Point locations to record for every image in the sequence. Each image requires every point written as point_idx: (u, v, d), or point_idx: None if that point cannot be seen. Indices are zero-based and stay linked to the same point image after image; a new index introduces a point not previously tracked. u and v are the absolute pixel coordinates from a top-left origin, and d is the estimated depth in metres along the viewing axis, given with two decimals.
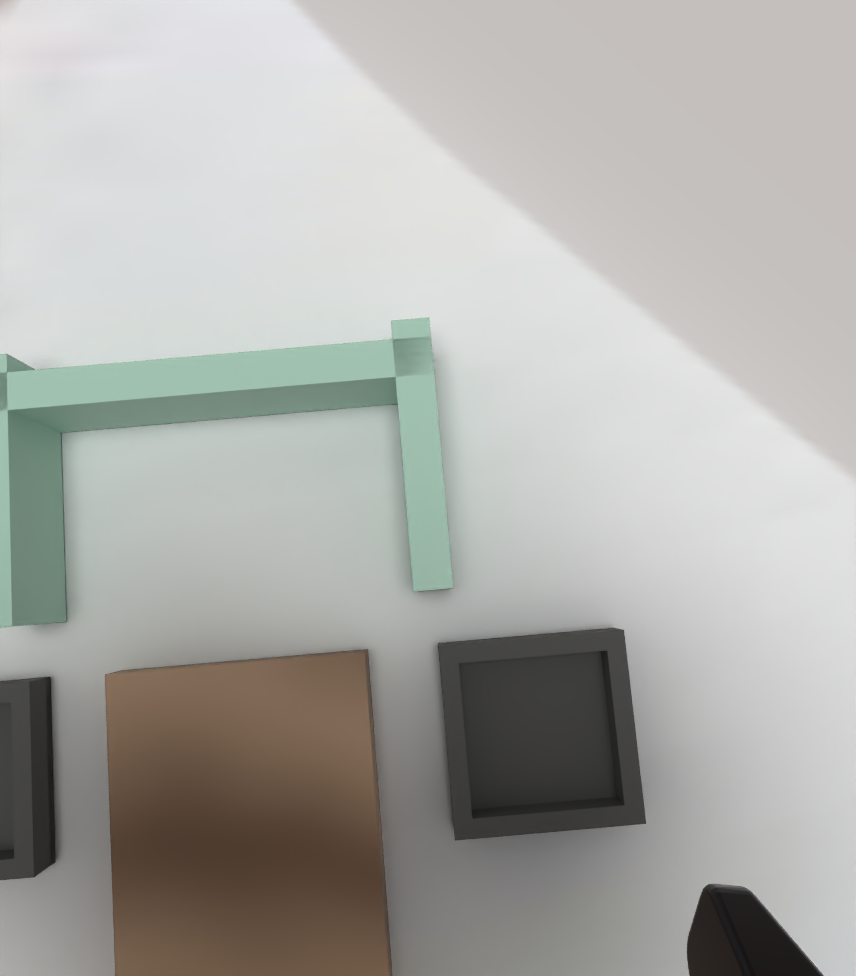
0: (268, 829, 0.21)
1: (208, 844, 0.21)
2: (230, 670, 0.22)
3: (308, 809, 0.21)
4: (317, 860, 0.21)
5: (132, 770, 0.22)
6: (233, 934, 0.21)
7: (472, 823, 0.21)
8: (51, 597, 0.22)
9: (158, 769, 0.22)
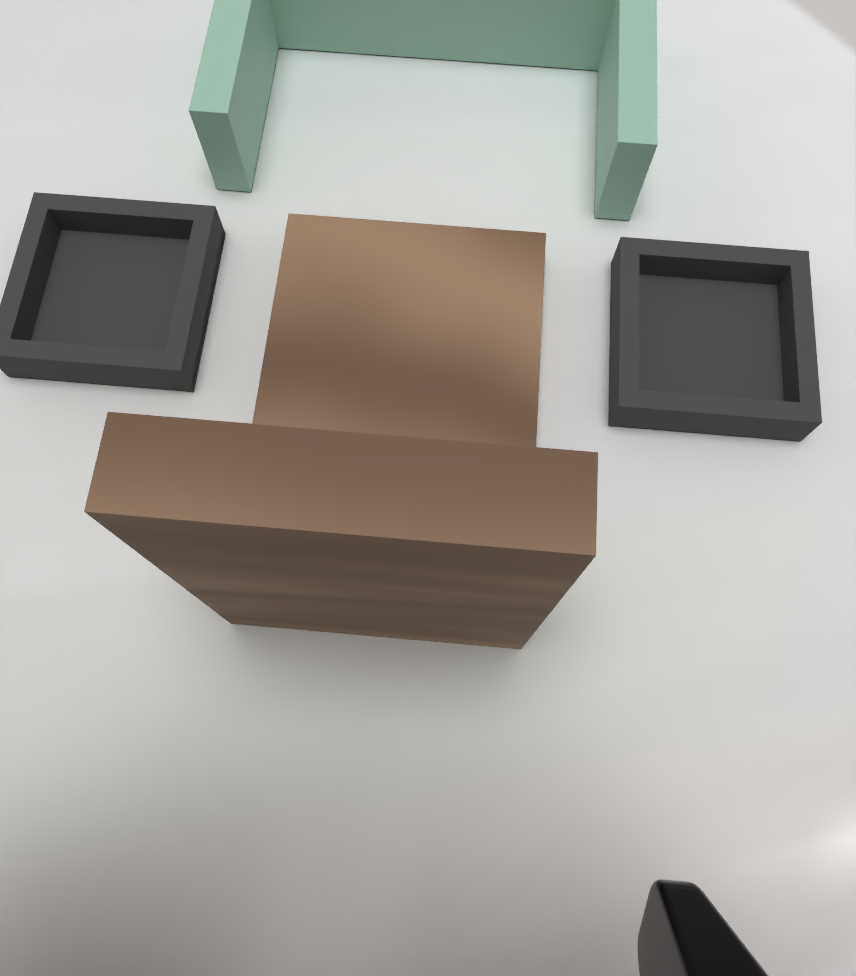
0: (426, 368, 0.21)
1: (362, 372, 0.21)
2: (412, 228, 0.22)
3: (470, 357, 0.21)
4: (472, 403, 0.20)
5: (298, 296, 0.21)
6: None
7: (638, 394, 0.20)
8: (248, 151, 0.23)
9: (325, 300, 0.21)
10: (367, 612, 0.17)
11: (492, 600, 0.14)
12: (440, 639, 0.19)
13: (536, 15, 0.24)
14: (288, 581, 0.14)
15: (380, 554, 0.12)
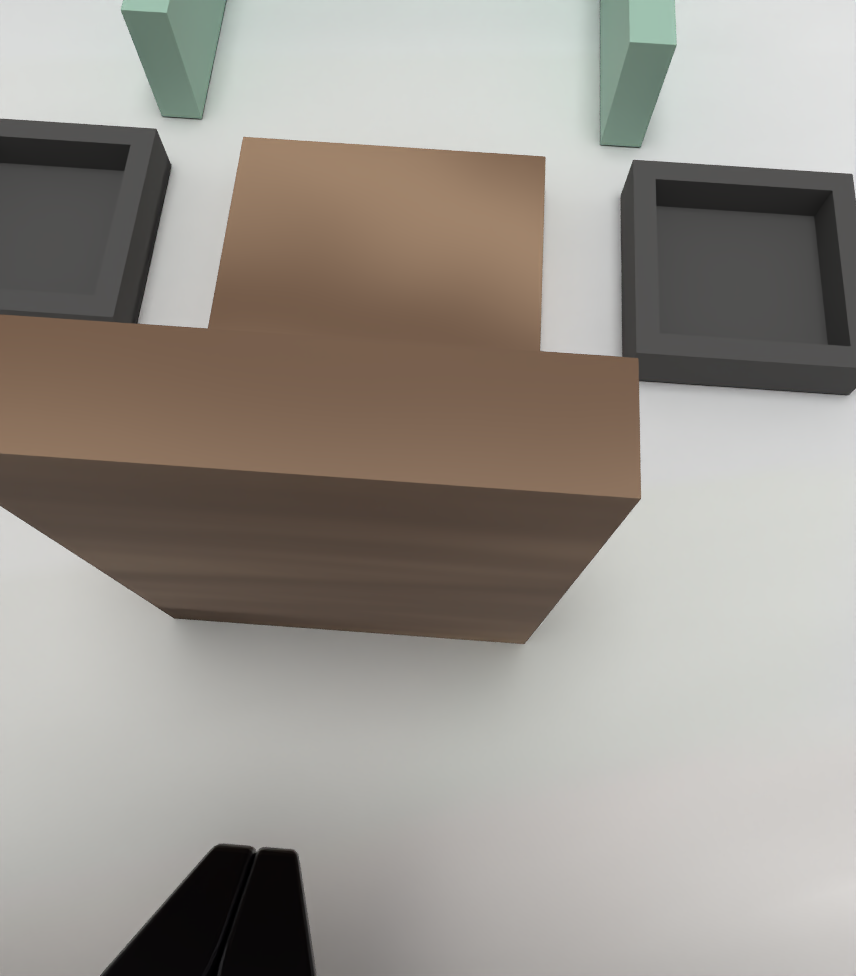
0: (407, 311, 0.17)
1: (330, 316, 0.17)
2: (388, 152, 0.19)
3: (458, 298, 0.17)
4: None
5: (255, 230, 0.18)
6: None
7: (659, 338, 0.17)
8: (197, 69, 0.20)
9: (286, 234, 0.18)
10: (334, 599, 0.13)
11: (491, 577, 0.11)
12: (427, 633, 0.16)
13: None
14: (225, 556, 0.11)
15: (337, 507, 0.09)
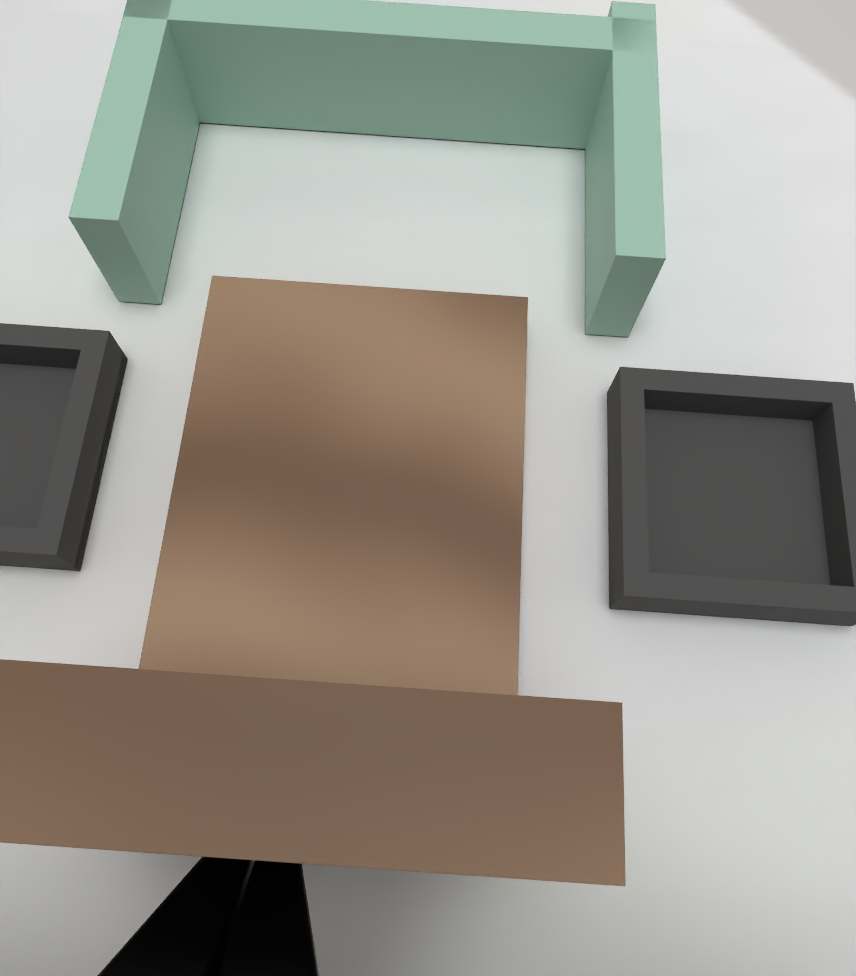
0: (382, 470, 0.16)
1: (302, 476, 0.16)
2: (364, 292, 0.18)
3: (436, 455, 0.17)
4: (440, 515, 0.16)
5: (223, 380, 0.17)
6: (315, 588, 0.16)
7: (648, 578, 0.16)
8: (156, 257, 0.19)
9: (256, 383, 0.17)
10: None
11: None
12: None
13: (510, 87, 0.19)
14: None
15: None
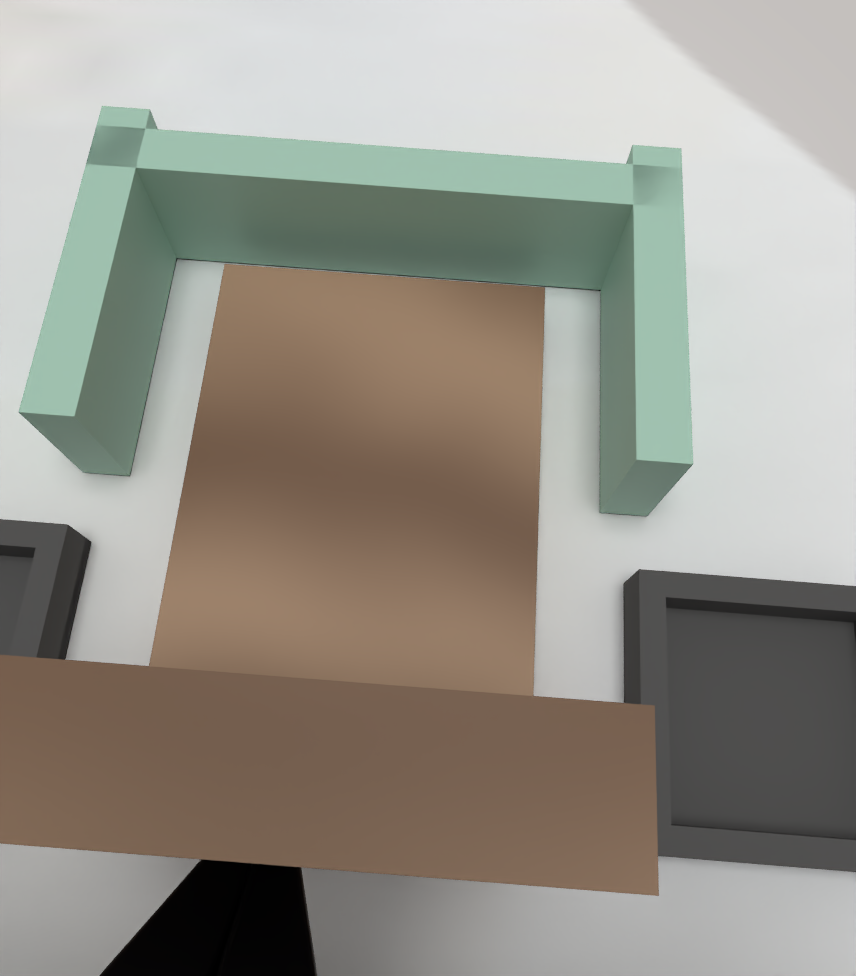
0: (396, 462, 0.16)
1: (315, 468, 0.16)
2: (378, 282, 0.18)
3: (452, 448, 0.16)
4: (455, 509, 0.16)
5: (235, 370, 0.17)
6: (329, 582, 0.15)
7: (670, 832, 0.14)
8: (122, 429, 0.17)
9: (269, 374, 0.17)
10: None
11: None
12: None
13: (518, 235, 0.17)
14: None
15: None
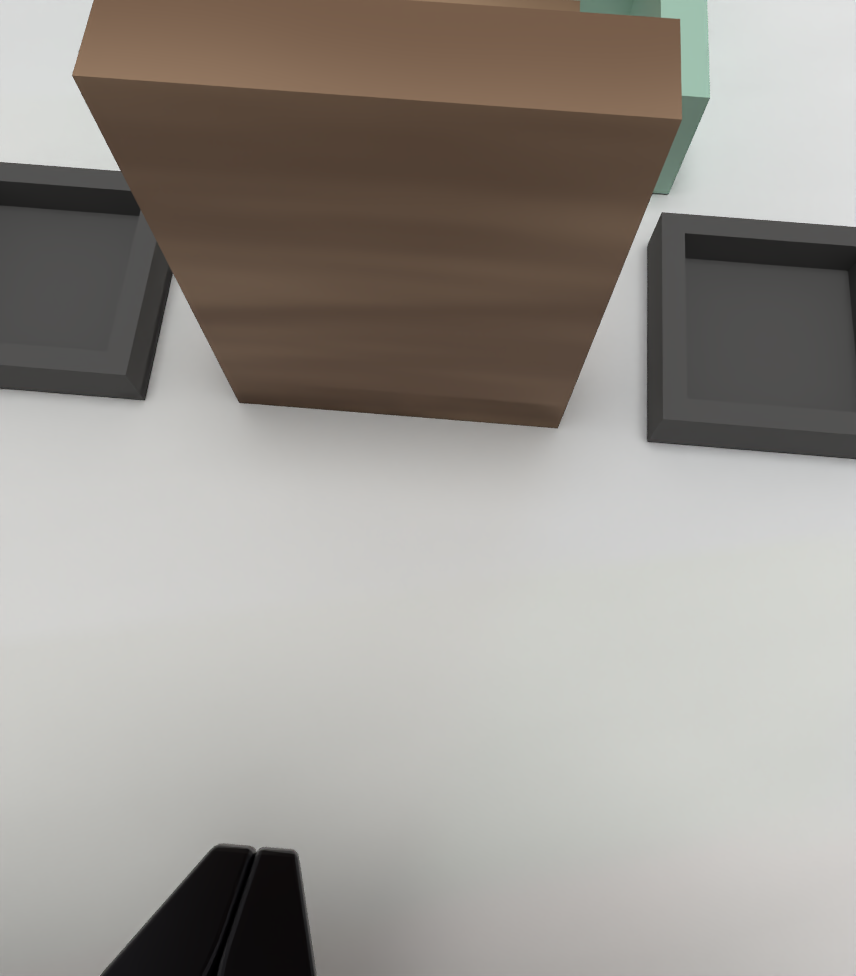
0: None
1: None
2: None
3: None
4: None
5: None
6: None
7: (687, 404, 0.17)
8: None
9: None
10: (393, 346, 0.15)
11: (540, 286, 0.13)
12: (470, 413, 0.17)
13: None
14: (308, 265, 0.13)
15: (420, 159, 0.10)
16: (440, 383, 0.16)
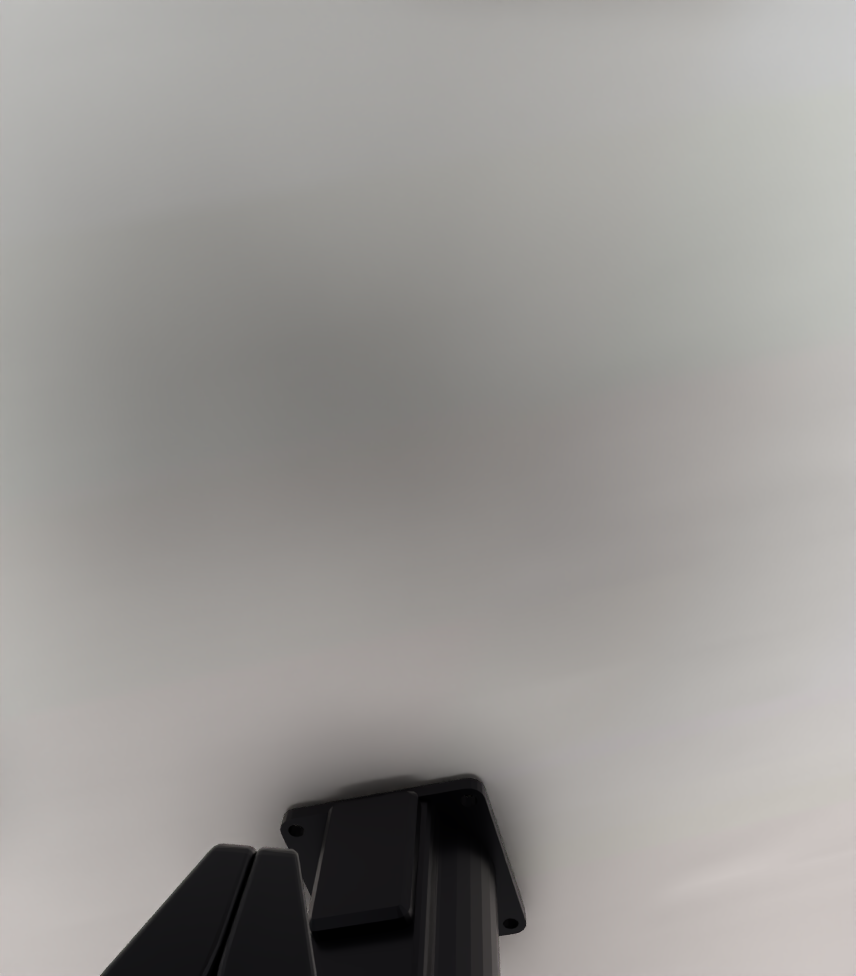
0: None
1: None
2: None
3: None
4: None
5: None
6: None
7: None
8: None
9: None
10: None
11: None
12: None
13: None
14: None
15: None
16: None
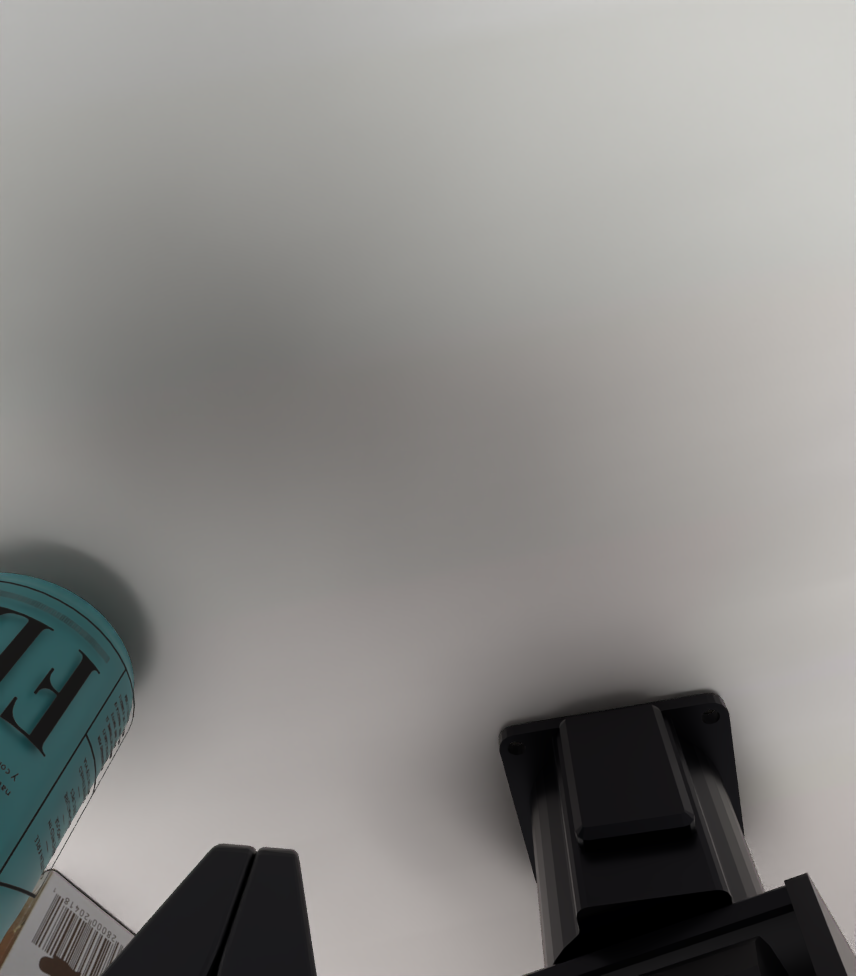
0: None
1: None
2: None
3: None
4: None
5: None
6: None
7: None
8: None
9: None
10: None
11: None
12: None
13: None
14: None
15: None
16: None
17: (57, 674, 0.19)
